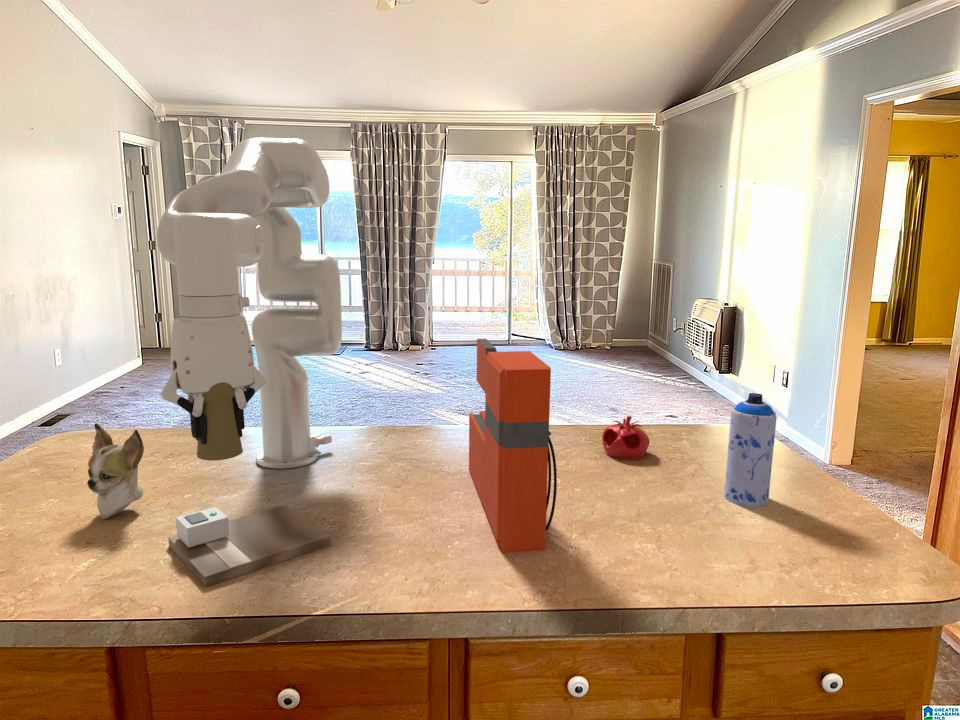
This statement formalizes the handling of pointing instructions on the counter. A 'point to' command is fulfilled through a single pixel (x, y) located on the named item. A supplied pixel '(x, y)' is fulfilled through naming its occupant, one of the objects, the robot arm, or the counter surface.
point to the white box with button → (202, 526)
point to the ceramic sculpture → (115, 472)
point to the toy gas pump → (513, 446)
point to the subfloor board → (251, 545)
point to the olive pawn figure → (220, 425)
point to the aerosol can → (750, 452)
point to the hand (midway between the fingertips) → (218, 437)
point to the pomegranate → (625, 440)
